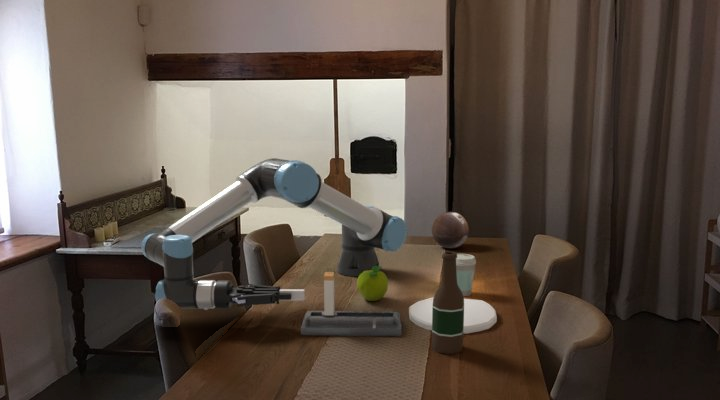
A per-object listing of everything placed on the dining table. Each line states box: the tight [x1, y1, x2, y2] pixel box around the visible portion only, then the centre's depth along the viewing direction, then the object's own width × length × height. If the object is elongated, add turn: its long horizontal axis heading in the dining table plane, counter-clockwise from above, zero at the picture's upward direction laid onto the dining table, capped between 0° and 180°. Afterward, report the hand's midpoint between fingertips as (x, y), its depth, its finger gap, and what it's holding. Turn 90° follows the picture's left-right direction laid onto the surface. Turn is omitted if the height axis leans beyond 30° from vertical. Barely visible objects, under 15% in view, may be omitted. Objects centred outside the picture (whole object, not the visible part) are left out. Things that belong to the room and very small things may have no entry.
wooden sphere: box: [431, 211, 470, 249], centre depth 261 cm, size 15×15×15 cm
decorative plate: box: [408, 296, 498, 335], centre depth 178 cm, size 25×4×25 cm
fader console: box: [300, 310, 403, 337], centre depth 170 cm, size 26×12×4 cm, turn 89°
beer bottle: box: [431, 251, 465, 355], centre depth 154 cm, size 8×8×24 cm
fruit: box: [356, 265, 389, 302], centre depth 193 cm, size 9×9×10 cm
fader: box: [321, 271, 338, 316], centre depth 169 cm, size 4×4×12 cm
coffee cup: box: [456, 253, 477, 297], centre depth 199 cm, size 8×8×12 cm
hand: (304, 295), depth 169 cm, fingers closed
